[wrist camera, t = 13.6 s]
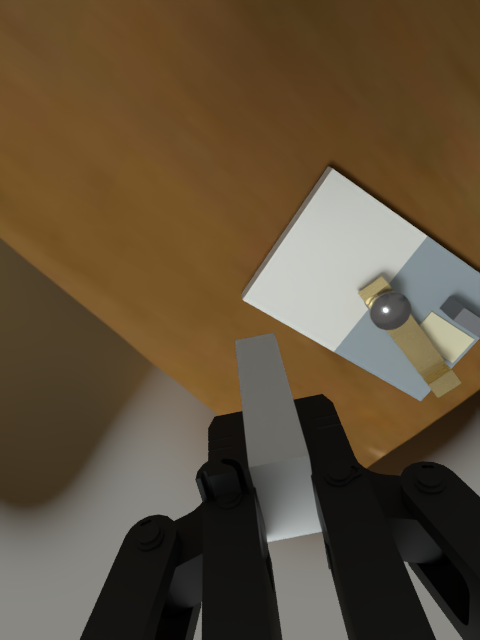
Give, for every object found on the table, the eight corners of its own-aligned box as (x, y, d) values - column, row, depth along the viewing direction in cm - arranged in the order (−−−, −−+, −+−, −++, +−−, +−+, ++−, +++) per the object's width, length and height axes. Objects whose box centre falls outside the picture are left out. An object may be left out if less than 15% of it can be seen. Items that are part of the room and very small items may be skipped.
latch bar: (353, 296, 43) (363, 309, 40) (385, 272, 42) (397, 284, 39) (420, 383, 48) (433, 400, 45) (451, 364, 47) (465, 380, 44)
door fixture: (328, 166, 40) (341, 173, 36) (506, 293, 46) (534, 311, 42) (241, 293, 45) (244, 312, 41) (414, 392, 51) (431, 417, 47)
